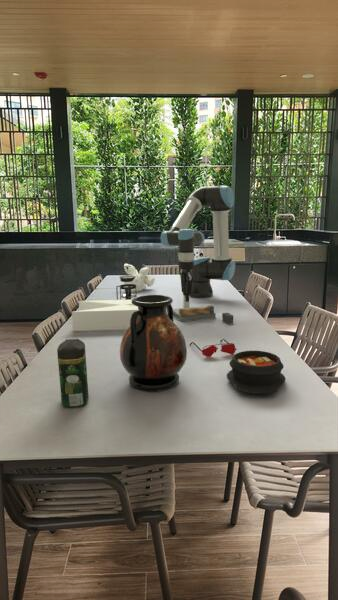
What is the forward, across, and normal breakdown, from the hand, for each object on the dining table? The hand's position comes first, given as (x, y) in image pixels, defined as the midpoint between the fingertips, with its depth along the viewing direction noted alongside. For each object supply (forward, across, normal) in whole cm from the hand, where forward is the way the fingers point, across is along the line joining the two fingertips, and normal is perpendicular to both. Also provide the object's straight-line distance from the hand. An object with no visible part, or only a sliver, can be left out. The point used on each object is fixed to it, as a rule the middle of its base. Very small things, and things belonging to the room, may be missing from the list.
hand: (186, 307), depth 223 cm
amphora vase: (+5, +74, -37) cm, 83 cm away
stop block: (+5, +18, +14) cm, 23 cm away
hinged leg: (+2, +7, +3) cm, 8 cm away
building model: (+5, +1, -33) cm, 33 cm away
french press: (+5, -30, -24) cm, 39 cm away
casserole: (+5, +85, -6) cm, 85 cm away
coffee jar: (+5, +80, -63) cm, 102 cm away
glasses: (+5, +51, -7) cm, 52 cm away
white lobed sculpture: (+5, -75, -7) cm, 75 cm away
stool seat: (+5, +1, +3) cm, 6 cm away
